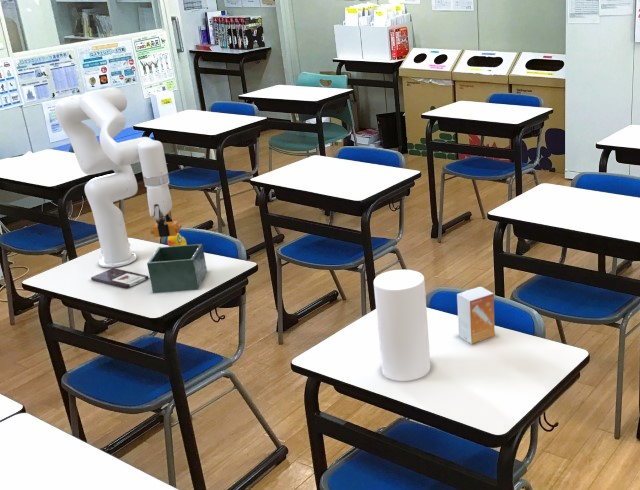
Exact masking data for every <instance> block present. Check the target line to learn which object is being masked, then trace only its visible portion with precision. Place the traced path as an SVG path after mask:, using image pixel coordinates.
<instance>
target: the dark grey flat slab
mask: <svg viewBox="0 0 640 490" xmlns="http://www.w3.org/2000/svg"><path fill="white" fill-rule="evenodd" d="M90 279H91V281H94V282H99V283H103V284H107V285H111V286H116V287H120V288H123V289H129V288H131V287H133V286H136V285H139V284H140V283H143V282H144V281H146V280H150V277H149V275H146V274H143V273H137V272H132V271H130V270H129V271H128V270H124V269H120V268H116V267H111V268H110V269H107V270H105V271H103V272H100V273H98V274H95V275H93V276H91V277H90Z"/></svg>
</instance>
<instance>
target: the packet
mask: <svg viewBox="0 0 640 490" xmlns="http://www.w3.org/2000/svg"><path fill="white" fill-rule="evenodd" d="M166 223H167V224H168V227H169V233H170V236H176V235H177V234H178V233H179V232H180V230H181V229H182V224H179V221H177V220H175V221H174V220H172V222H166ZM151 228H152V229H151V230H150V234H151V235H153V237H154V238H161V237H160V236H159V231H158V226H157V222H155V223H154V225H153V226H152V227H151Z"/></svg>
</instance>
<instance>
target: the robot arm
mask: <svg viewBox="0 0 640 490" xmlns="http://www.w3.org/2000/svg"><path fill="white" fill-rule="evenodd" d="M127 107H128V100H127V97H126V95H125V93H124V92H123V91H122V90H121V89H120V88H117V87H114V86H112V87H106V88H100V89H95V90H90V91H87V92H84V93H83V94H79V95H73V96H69V97H65V98H62V99H61V100H59V101H57V103H56V104H55V107H54V113H55V117H56V121H57V122H58V124H59V126H60V128H61V129H62V130H63V132H64V133H65V135H66V137H67V138H68V141H69V142H70V145H71V147H72V150H73V153H74V155H75V158H76V161H77V163H78V165H79V168H80V169H81V171H82V172H83V174H85V175H88V176H89V175H90V176H91V175H96V174H97V175H98V174H101V173H105V172H109V171H113V172H114V173H110V174H105V175H102V176H98V177H94V178H92V179H90V180H89V181H87V182H86V184H85V185H84V194H85V196H86V199H87V201H88V204H89V205H90V209H91V212H92V216H93V221H94V224H95V229H96V234H97V238H98V241H99V242H98V243H99V247H100V252H101V255H102V258H101V259H99V261H98V264H99V266H100V267H103V268H107V269H108V268H110V269H112V268H119V267H123V266H127V265H129V264H132V263H134V262H135V261H136V260H137V254H136V253H134V252H131V248H130V247H131V243H130V241H129V237H128V232H127V227H126V222H125V218H124V213H123V211H122V210H121V209H120V208H119V207H117V206H116V205H115V202H118V201H121V200H125V199H127V198H131V197H133V196H135V195H136V194H137V193H138V190H139V187H138V181H137V178H136V176H135V172H134V170H133V168H132V165H134V164H138V163H140V168H141V173H142V178H143V183H144V187H146V196H147V198H146V199H147V204H148V205H147V206H148V212H149V216H150V217H151V218H154V221H155V223H157V226H158V231H159V236H160V237H159V238H168V236H170V233H169V227H168V224H167V223H166V222H172V221H173V216H172V213H171V212H172V209H173V201H172V200H173V199H172V196H171V192H170V188H169V184H170V176H169V172H168V167H167V161H166V160H167V159H166V156H165V150H164V149H165V148H164V145H163V143H162V142H161V141H159V140H154V139H152V138H151V137H148V136H141V137H137V138H132V139H128V140H127V139H126V140H123V141H120V142H117V141H116V140H115V139H114V138H115V137H116V136H117V135H119V134H120V133H121V132H122V131H123V130H124V128H125V127H126V124H127V120H126V119H127V118H126V117H125V116H124V114H123V113H122V112H123V111H124V112H125V110H126V109H127ZM87 120H91V121H92V122H93V124H95V125H96V127H97V128H98V129H99V131H100V132H99V140H98V137H97V135H96V132H95V131H94V130H93V129H92V128H91V127H90V126H89V125H88V124H86V123H84V122H82V121H87Z"/></svg>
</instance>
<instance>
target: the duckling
mask: <svg viewBox="0 0 640 490" xmlns="http://www.w3.org/2000/svg"><path fill="white" fill-rule="evenodd" d="M181 245H188V243H187V239H186V238H185V237H184V236H182V235H181V234H180V233H179V232H178V234H177V235H176V236H167V246H168V247H169V246H181Z"/></svg>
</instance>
